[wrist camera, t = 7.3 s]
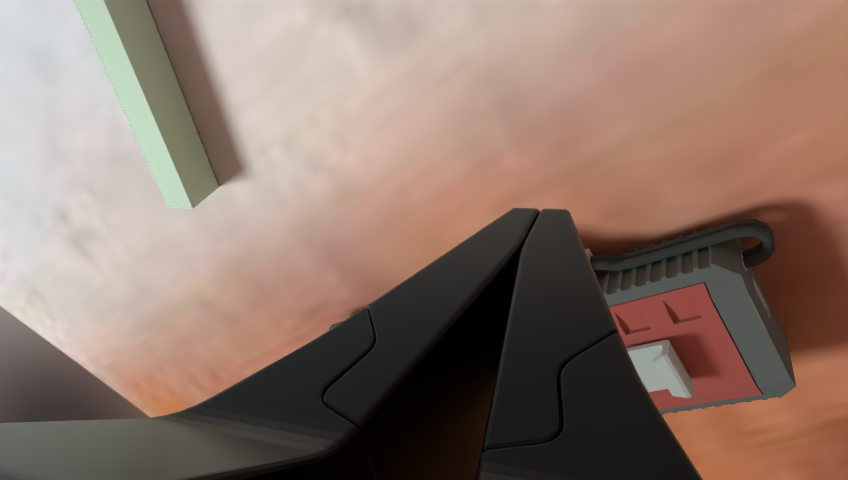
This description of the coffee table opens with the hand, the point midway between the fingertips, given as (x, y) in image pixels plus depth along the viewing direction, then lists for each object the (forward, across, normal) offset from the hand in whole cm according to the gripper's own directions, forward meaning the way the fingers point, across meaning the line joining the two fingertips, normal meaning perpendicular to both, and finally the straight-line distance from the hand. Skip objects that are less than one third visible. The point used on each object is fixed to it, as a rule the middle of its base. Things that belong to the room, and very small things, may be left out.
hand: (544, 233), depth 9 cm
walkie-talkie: (+13, +3, +13) cm, 18 cm away
